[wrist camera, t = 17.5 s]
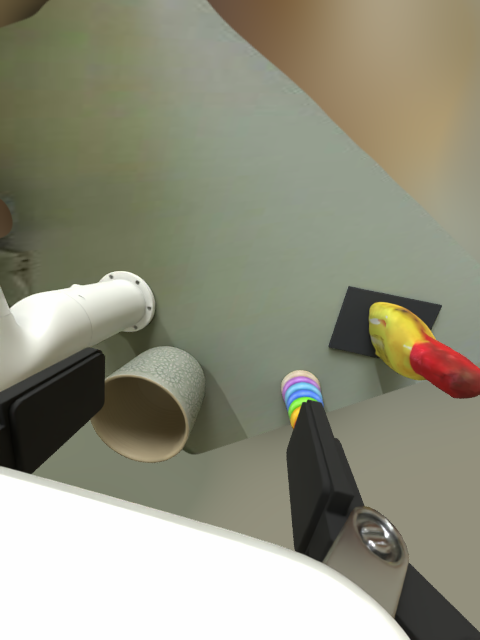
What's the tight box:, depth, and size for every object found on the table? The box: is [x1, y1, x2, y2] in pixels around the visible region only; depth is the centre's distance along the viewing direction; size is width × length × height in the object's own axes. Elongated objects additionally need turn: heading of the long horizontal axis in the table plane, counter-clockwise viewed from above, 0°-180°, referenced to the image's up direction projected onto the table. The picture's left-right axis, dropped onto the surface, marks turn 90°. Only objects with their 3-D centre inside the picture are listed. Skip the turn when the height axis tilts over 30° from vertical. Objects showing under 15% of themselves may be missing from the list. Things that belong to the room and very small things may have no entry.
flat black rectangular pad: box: [329, 286, 442, 358], centre depth 42 cm, size 16×12×1 cm
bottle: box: [369, 302, 480, 399], centre depth 32 cm, size 12×6×20 cm, turn 21°
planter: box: [90, 346, 206, 463], centre depth 43 cm, size 17×17×15 cm
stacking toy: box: [281, 370, 324, 429], centre depth 39 cm, size 8×8×19 cm
